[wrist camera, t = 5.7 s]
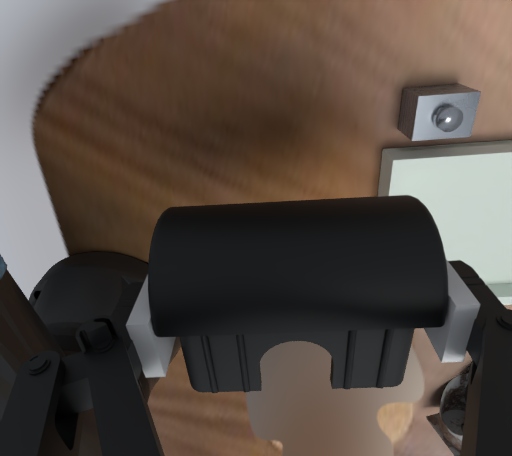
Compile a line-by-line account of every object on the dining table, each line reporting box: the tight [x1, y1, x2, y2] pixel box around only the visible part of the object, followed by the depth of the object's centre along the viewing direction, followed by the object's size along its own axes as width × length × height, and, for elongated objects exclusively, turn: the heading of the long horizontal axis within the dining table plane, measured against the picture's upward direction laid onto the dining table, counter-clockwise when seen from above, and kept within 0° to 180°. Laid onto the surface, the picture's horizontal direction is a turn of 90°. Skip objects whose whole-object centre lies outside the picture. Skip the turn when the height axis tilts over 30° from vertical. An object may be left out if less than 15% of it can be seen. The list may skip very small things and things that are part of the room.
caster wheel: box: [426, 373, 469, 456], centre depth 41 cm, size 7×11×10 cm
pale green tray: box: [378, 140, 512, 305], centre depth 30 cm, size 16×20×3 cm
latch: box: [398, 84, 481, 141], centre depth 25 cm, size 4×3×4 cm
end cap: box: [148, 195, 448, 393], centre depth 15 cm, size 10×7×7 cm
